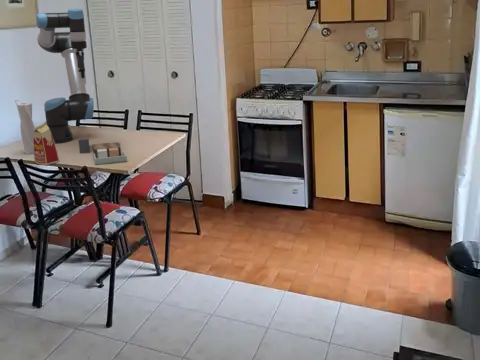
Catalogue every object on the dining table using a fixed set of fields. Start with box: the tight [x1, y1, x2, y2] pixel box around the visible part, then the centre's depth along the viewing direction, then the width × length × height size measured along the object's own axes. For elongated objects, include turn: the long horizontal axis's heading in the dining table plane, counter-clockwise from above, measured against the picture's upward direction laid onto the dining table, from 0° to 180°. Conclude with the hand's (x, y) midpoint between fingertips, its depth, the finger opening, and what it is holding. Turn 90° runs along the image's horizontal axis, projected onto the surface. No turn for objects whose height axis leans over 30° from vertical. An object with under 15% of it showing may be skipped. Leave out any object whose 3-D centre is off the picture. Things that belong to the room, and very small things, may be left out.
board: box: [91, 141, 122, 158], centre depth 287 cm, size 13×11×5 cm
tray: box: [92, 150, 128, 166], centre depth 278 cm, size 15×10×3 cm, turn 108°
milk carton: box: [33, 121, 60, 166], centre depth 273 cm, size 9×9×20 cm
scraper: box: [77, 137, 122, 154], centre depth 295 cm, size 21×4×7 cm, turn 108°
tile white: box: [97, 149, 108, 158], centre depth 278 cm, size 4×4×4 cm
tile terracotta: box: [109, 148, 119, 157], centre depth 280 cm, size 4×4×4 cm
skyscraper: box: [14, 99, 35, 155], centre depth 289 cm, size 8×8×28 cm
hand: (82, 82), depth 292 cm, fingers open, 13 cm apart
